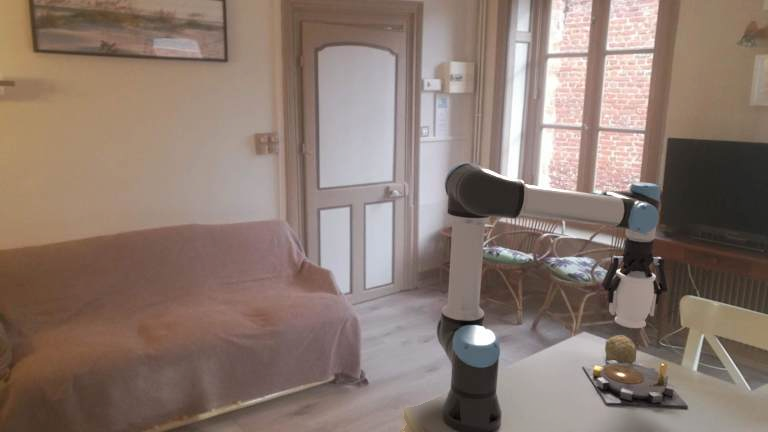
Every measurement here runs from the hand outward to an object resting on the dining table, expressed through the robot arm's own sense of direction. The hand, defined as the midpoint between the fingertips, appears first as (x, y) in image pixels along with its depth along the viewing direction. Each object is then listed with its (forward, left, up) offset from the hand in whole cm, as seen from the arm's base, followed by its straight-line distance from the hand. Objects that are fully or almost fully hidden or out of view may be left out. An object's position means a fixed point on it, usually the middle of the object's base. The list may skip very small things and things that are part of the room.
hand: (631, 313), depth 169 cm
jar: (0, 0, -3) cm, 3 cm away
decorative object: (+5, +17, -22) cm, 29 cm away
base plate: (+2, -1, -22) cm, 22 cm away
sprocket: (+2, -1, -21) cm, 21 cm away
